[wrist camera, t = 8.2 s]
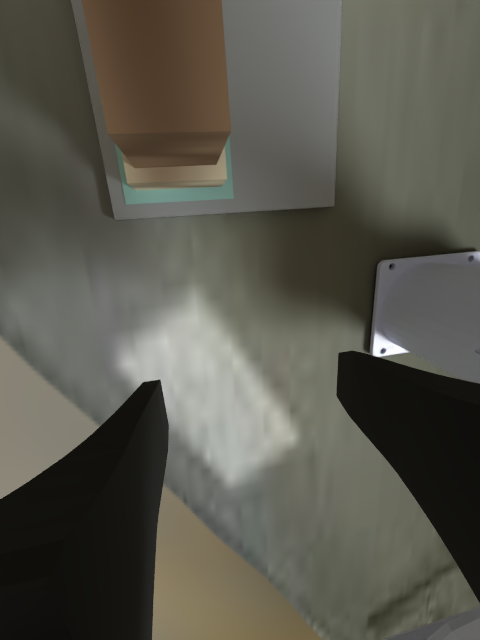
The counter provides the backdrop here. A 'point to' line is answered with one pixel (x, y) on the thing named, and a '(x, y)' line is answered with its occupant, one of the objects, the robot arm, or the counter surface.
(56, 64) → the counter surface
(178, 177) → the base block
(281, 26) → the board
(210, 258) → the counter surface
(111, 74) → the walnut block
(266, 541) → the counter surface
